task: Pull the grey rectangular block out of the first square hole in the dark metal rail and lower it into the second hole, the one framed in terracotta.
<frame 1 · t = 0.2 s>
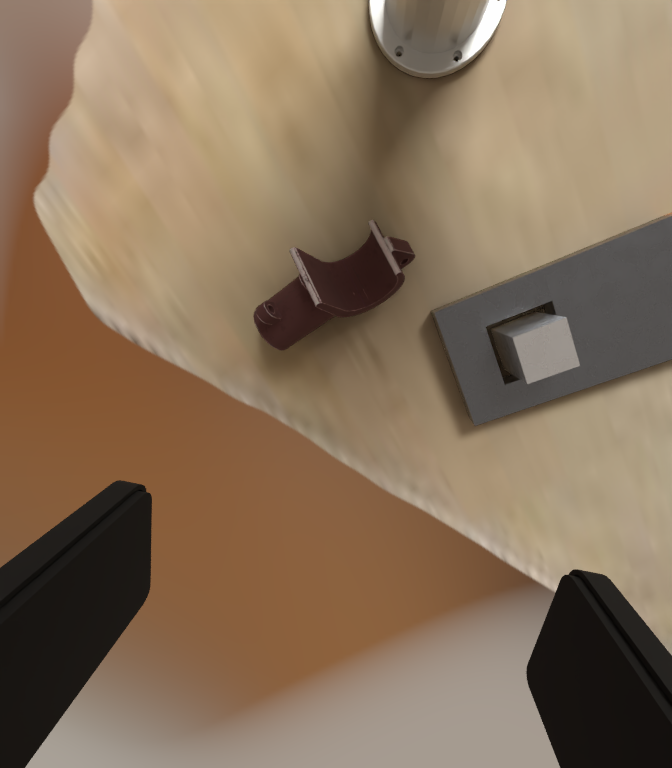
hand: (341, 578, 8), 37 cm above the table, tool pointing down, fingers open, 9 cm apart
rail: (611, 306, 40), on the table
grey rectangular block: (518, 340, 42), resting in rail
bracket: (334, 285, 43), on the table
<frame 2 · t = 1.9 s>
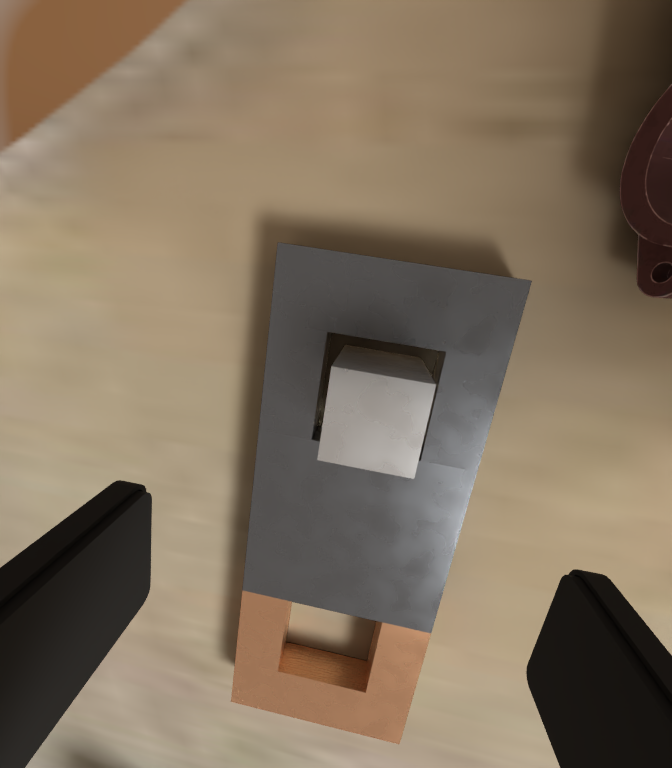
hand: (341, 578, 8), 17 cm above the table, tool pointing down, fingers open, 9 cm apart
rail: (351, 514, 27), on the table
grey rectangular block: (375, 387, 25), resting in rail
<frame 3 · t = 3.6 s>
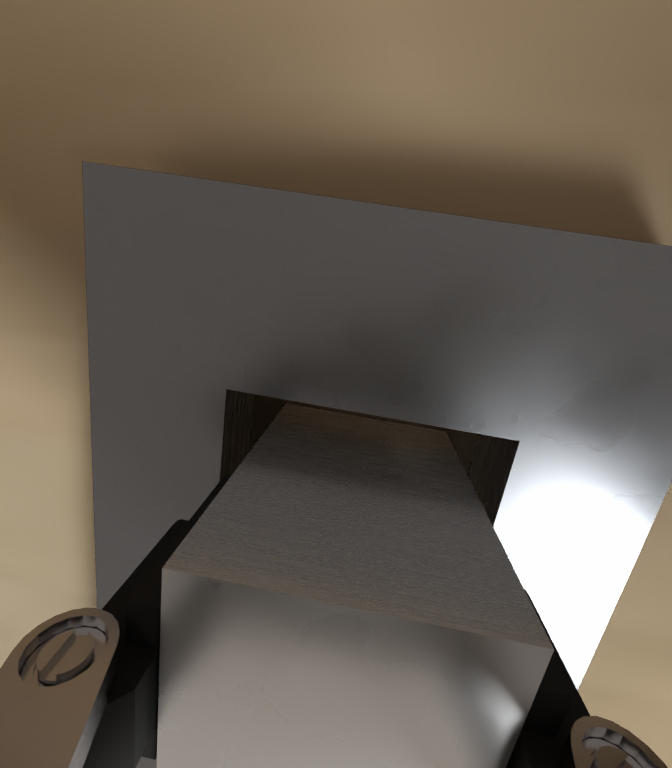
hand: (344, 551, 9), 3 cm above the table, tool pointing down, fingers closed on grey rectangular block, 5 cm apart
rail: (311, 706, 15), on the table
grey rectangular block: (351, 487, 12), resting in rail, touching gripper
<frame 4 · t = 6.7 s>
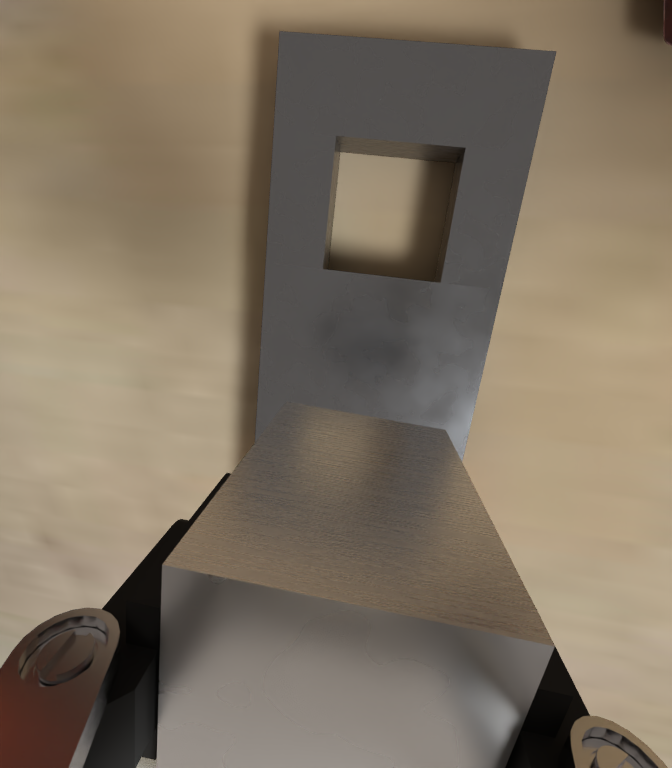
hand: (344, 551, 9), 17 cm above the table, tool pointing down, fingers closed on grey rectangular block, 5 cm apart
rail: (366, 372, 26), on the table
grey rectangular block: (352, 486, 12), point 14 cm above the table, touching gripper
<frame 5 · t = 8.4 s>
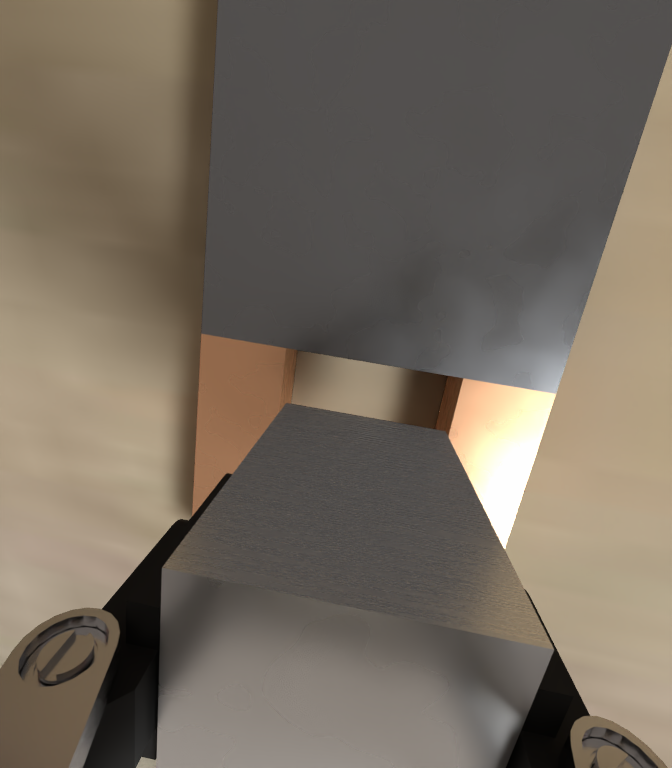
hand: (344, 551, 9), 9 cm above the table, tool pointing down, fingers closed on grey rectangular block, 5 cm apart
rail: (401, 196, 15), on the table
grey rectangular block: (351, 487, 12), point 6 cm above the table, touching gripper
when the fingers open (4 cm above the table, at t = 9.8 s): grey rectangular block stays where it is, resting in rail.
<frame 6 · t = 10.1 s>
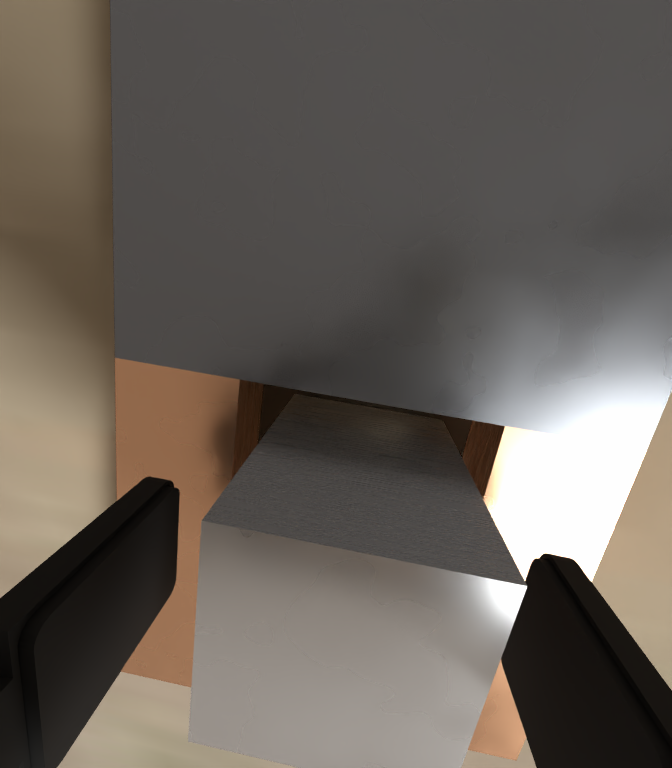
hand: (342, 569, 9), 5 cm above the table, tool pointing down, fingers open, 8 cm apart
rail: (411, 156, 10), on the table
grey rectangular block: (355, 472, 13), resting in rail
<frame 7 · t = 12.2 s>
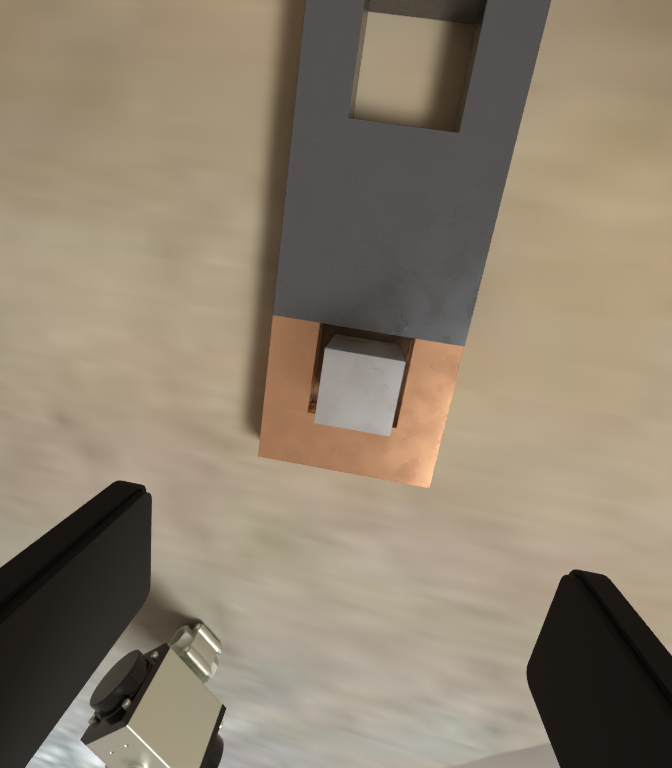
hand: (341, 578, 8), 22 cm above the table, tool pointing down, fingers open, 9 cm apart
rail: (383, 239, 27), on the table
pneumatic valve: (199, 638, 39), on the table
grey rectangular block: (361, 369, 30), resting in rail
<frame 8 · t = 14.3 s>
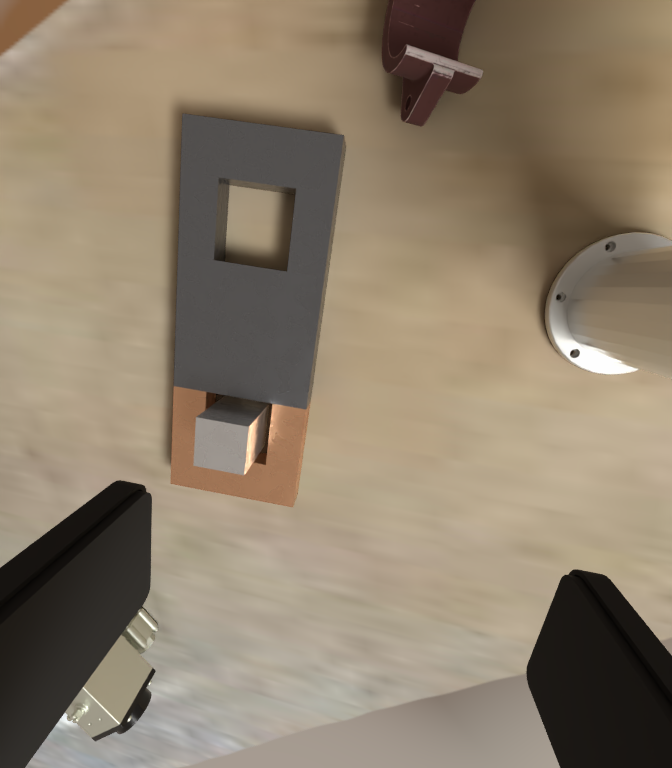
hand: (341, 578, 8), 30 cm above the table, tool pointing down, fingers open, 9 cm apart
rail: (252, 331, 38), on the table
pneumatic valve: (141, 619, 50), on the table
grey rectangular block: (245, 420, 41), resting in rail
bracket: (440, 11, 30), on the table
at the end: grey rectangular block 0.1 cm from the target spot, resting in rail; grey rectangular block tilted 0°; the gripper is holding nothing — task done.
